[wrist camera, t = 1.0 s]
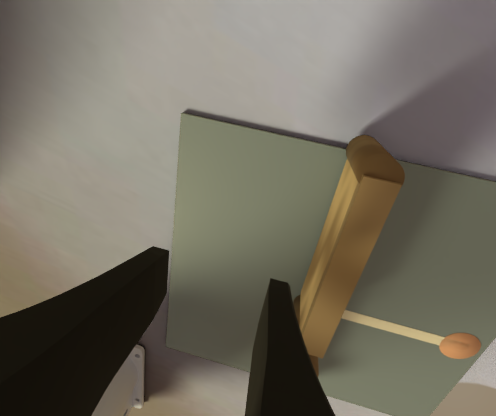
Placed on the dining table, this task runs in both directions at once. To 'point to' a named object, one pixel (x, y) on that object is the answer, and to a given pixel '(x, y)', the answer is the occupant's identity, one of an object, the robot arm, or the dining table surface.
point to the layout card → (301, 253)
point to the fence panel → (347, 238)
